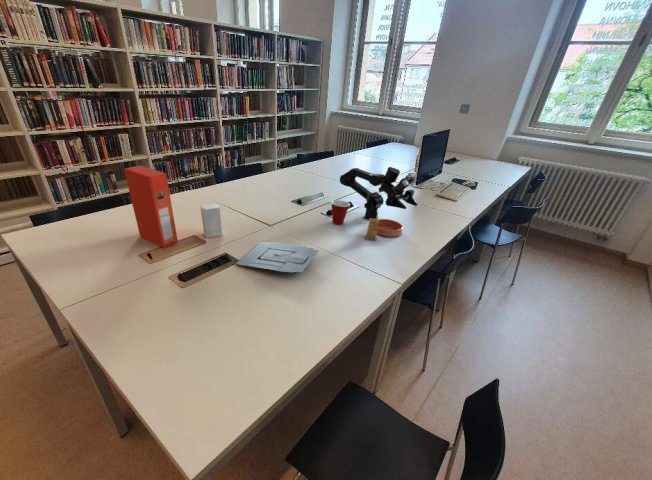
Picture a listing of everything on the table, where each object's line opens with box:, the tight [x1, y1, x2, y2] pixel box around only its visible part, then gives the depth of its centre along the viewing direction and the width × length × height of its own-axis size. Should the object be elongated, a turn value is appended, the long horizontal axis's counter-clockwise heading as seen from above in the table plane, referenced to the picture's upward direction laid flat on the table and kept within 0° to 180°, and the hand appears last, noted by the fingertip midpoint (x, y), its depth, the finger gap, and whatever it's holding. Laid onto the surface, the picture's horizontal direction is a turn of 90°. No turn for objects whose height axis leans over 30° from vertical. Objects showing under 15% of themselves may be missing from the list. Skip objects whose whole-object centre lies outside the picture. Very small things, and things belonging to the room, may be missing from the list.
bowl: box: [377, 218, 403, 238], centre depth 174 cm, size 15×15×4 cm
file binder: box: [123, 165, 179, 249], centre depth 142 cm, size 8×17×32 cm, turn 56°
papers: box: [235, 240, 320, 274], centre depth 140 cm, size 24×30×4 cm
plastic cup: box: [330, 199, 351, 226], centre depth 177 cm, size 11×11×12 cm
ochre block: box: [365, 218, 380, 241], centre depth 164 cm, size 4×4×10 cm
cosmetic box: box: [199, 203, 223, 239], centre depth 154 cm, size 8×6×15 cm
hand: (411, 206), depth 165 cm, fingers open, 9 cm apart
